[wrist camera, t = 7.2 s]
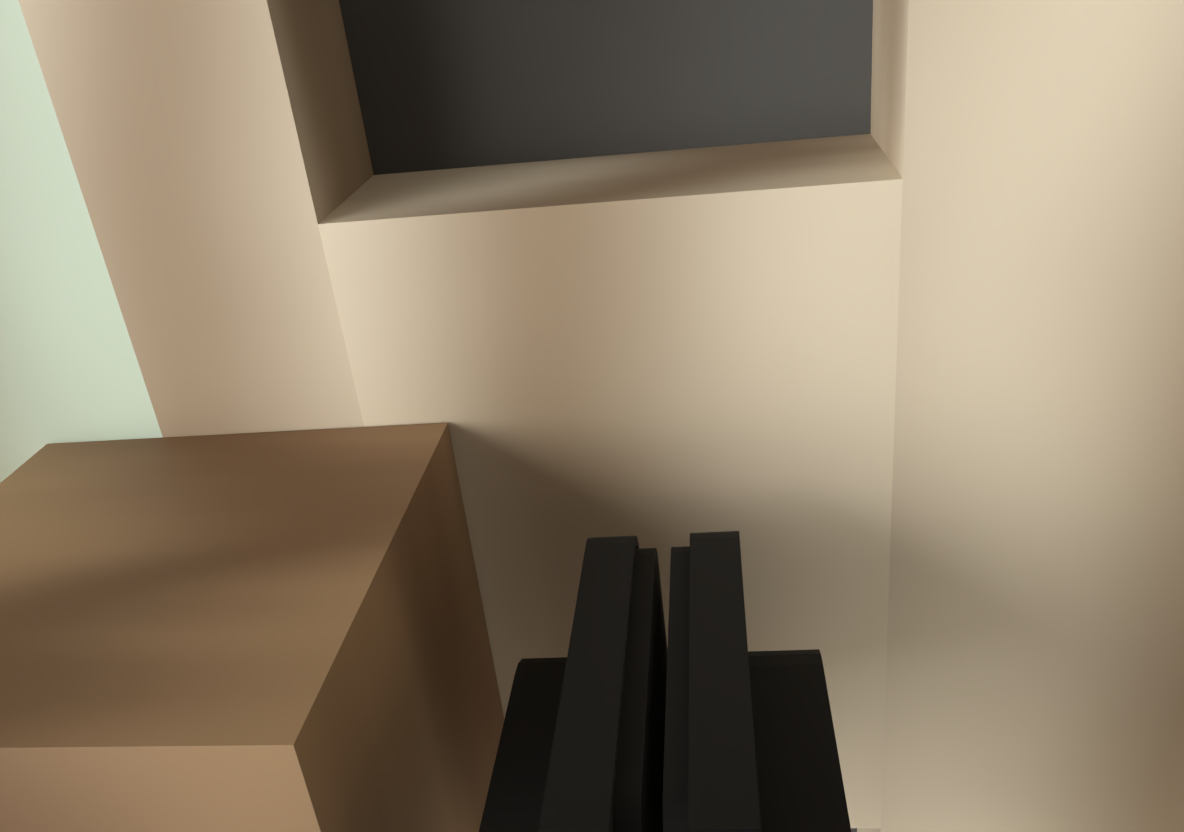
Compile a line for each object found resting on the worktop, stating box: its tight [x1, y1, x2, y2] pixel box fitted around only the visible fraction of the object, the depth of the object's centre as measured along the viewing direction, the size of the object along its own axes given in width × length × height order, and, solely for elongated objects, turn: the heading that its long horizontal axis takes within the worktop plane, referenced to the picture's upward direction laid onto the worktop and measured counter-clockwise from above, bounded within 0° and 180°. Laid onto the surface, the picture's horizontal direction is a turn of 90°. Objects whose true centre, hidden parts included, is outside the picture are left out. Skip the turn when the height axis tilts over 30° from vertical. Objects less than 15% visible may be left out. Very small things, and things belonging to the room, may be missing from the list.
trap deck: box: [0, 0, 1184, 832], centre depth 13 cm, size 23×20×2 cm
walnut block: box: [0, 423, 504, 832], centre depth 11 cm, size 5×5×5 cm
